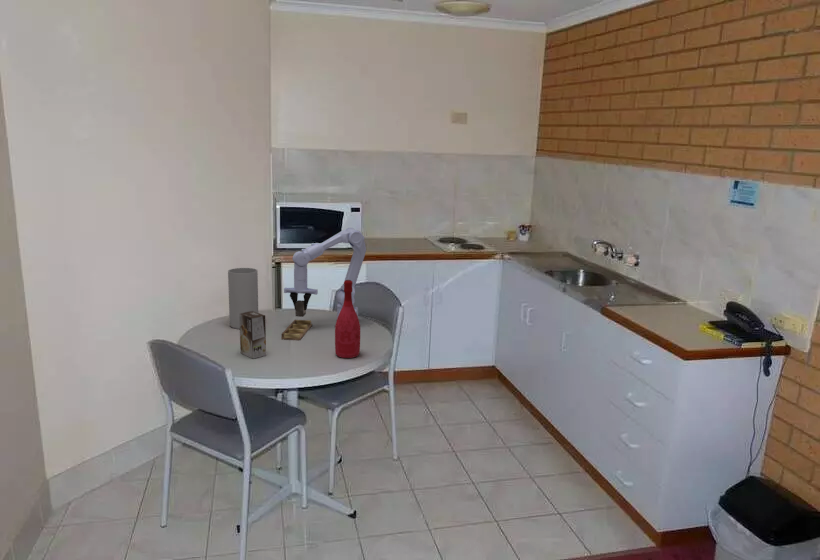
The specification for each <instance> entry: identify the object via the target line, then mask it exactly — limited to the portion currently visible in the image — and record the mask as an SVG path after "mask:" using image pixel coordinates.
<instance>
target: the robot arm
mask: <svg viewBox="0 0 820 560" xmlns="http://www.w3.org/2000/svg"><path fill="white" fill-rule="evenodd" d="M340 243H342V244H349V245H350V247H351V248H352V250H353V253H352V256H351V259H350V261H349V262H350V263H349V266H348V269H347V272H346V275H345V278H344V281H345V280H351V281H352V283H353V284H352V293H351V294H352V304H353V307H354V309H355V312H356V314H357V316H358V317H359V308H358V306H354V304H355V301H356V298H355V295H356V289H355V288H356V284H357V281H358V278H359V275H360V272H361V269H362V266H363V262H364V259H365V256H366V252H367V248H366V242H365V236H364V235H363V233H362V232H361V231H360V230H357V229H355V228H353V227H348V228H346V229H343V230H341V231H339V232H338V233H336V234H334V235H333V236H331V237H329V238H328V239H325V240H324V241H323V242H321V243H319V242H315V243H314V242H312V243H311V245H310V246H308V247H305V248H302V249H301V250H300V251H295V252H294V254H293V256H292V261H293V263H294V264H293V265H294V266H293V287H284V288H283V293H284V294H289V298H290V299H291V302H292V303H293V307H294V309H295V303H296V302H297V301H298V298H299V294H303V301H304V310H306V311H307V309H308V305H309V302H310V299H311V296H312V295H318V294H319V293H318V288H317V289H315V288H309V287H308V264H309V263H310V262H311V261H313V260H315V259H317V258H319V257H320V256H322V255H323V254H324V251H326V250H328V249H330V248H332V247H334V246H336V245H338V244H340ZM344 294H345V292H344V283H343V284H342V285H341V286H340V287H339V290H338V291H337V293H335V300H336V301H337V305H336V319H337V318H338V316H339V313H340V311H341V309H342V307H343V304H344V296H345V295H344Z"/></svg>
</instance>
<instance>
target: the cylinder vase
mask: <svg viewBox="0 0 820 560" xmlns="http://www.w3.org/2000/svg"><path fill="white" fill-rule="evenodd" d="M258 275H259V273H258V269H256V268H251V267H235V268H230V269H228V270H227V280H228V281H227V282H228V310H229V311H228V312H229V313H228V317H229V318H228V319H229V326H230V327H231V328H233V329H237V330H240V322H239V314H241V313H245V312H250V311H254V312H257V313H259V285H258V284H259V283H258V282H259V280H258V279H259V278H258V277H259V276H258Z"/></svg>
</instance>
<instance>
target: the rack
mask: <svg viewBox="0 0 820 560" xmlns="http://www.w3.org/2000/svg"><path fill="white" fill-rule="evenodd" d="M312 326H313V324H312V320H308V319H307V320H306V319H294V320H293V321H292V322H291V323H290V324H289V325H288V326H287V328H285V330H283V332H282V333H281V338H280V339H281V340H283V339H284V340H286V341H287V340H289V341H301V340H302V339H303V337H304V336H305V335H306V334H307V333H308V331H309V330H310V329H311V328H312ZM284 340H283V341H284Z"/></svg>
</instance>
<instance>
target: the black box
mask: <svg viewBox="0 0 820 560" xmlns="http://www.w3.org/2000/svg"><path fill="white" fill-rule="evenodd" d="M294 310H295V317H297V318H299V317H301V318H302V317H305V315H306V314H307V309H306V310H304V300H298V299H297V302H296V303H295V308H294Z"/></svg>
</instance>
